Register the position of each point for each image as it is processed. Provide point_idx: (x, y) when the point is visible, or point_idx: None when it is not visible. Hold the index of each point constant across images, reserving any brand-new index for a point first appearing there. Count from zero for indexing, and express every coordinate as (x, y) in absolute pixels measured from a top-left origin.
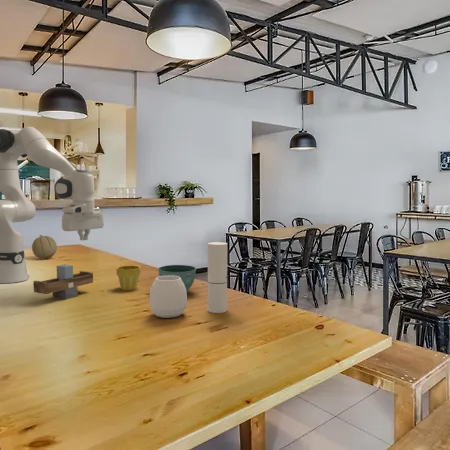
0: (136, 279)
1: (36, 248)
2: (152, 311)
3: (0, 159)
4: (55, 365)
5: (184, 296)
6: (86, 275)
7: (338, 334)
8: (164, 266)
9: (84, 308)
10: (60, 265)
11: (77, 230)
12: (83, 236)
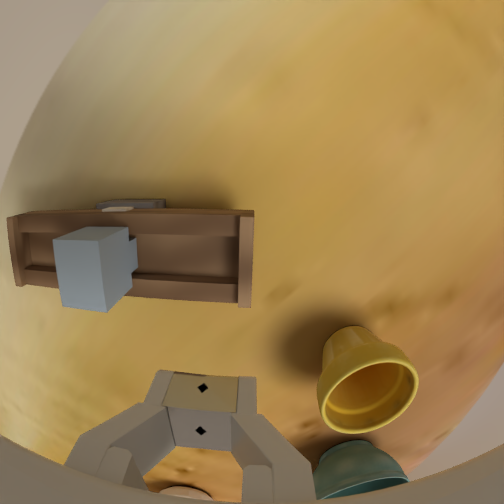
0: (354, 398)
1: None
2: (159, 492)
3: None
4: (11, 439)
5: None
6: (211, 296)
7: None
8: (382, 478)
9: (103, 376)
10: (69, 248)
11: (67, 459)
12: (169, 443)
